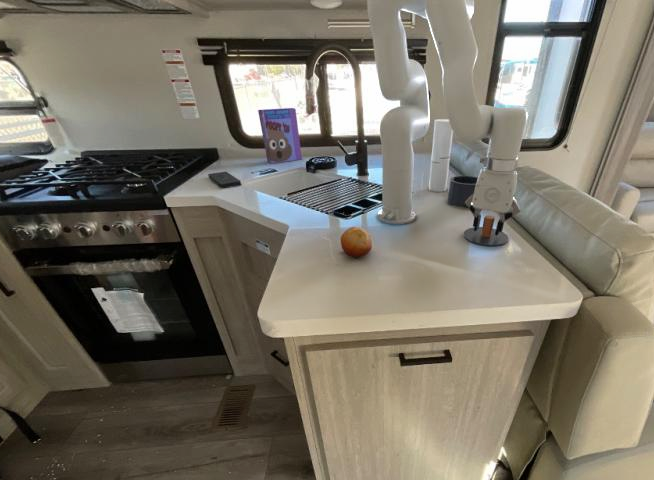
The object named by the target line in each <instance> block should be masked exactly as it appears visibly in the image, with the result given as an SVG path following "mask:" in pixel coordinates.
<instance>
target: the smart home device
mask: <svg viewBox="0 0 654 480" xmlns="http://www.w3.org/2000/svg"><path fill="white" fill-rule="evenodd" d="M207 176H208V179H209V180H211V181H212V182H213V183H215V184H216V185H217V186H218V187H219V188H221V189H225V188H226V189H227V188H231V187H232V188H233V187H239V186H241V185H242V182H241V180H240V179H239V178H237V177H235V176H234V175H232V173H229V171H219V172H212V173H208V174H207Z"/></svg>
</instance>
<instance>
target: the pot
mask: <svg viewBox="0 0 654 480" xmlns="http://www.w3.org/2000/svg"><path fill="white" fill-rule="evenodd" d="M477 179H478V176H473V175H455V176H452V177H450V179H449V185H448V186H449V188H448V196H447V204H448V205H449V206H451V207H452V206H453V207H458V208H463V209H469V207H468V206H467V205H466V204H465V201H466V200H467V199H468V198H469V197H470V196H472V195H473V194H474V191H475V187H476V183H477Z"/></svg>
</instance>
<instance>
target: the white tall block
mask: <svg viewBox="0 0 654 480" xmlns="http://www.w3.org/2000/svg"><path fill="white" fill-rule="evenodd" d="M453 135H454V132H453V130H452V128H451V125H450V122H449V119H446V118H437V119H434V125H433V136H432V148H431V158H430V160H431V161H430V169H429V179H428V181H429V182H428V190H429V191H430V192H437V193H439V192H445V191H446V190H447V184H448V176H449V168H450V160H451V153H452V152H451V150H452V144H453Z"/></svg>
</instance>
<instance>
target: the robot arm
mask: <svg viewBox="0 0 654 480" xmlns="http://www.w3.org/2000/svg"><path fill="white" fill-rule="evenodd" d="M366 8H367V17H368V22H369V28H370V32H371V33H370V34H371V38H372V45H373V54H374V62H375V68H376V77H377V83H378V88H379V92H380V95H381V96H382V97H383V98H384V99H385V100H386V101H390V102H397V101H398V104H399V106H394V107H391V108H389V109H388V110H386V111H385V112H384V113H383V115H382V116H381V118H380V120H379V137H380V143H381V155H382V158H381V159H382V161H381V162H382V165H381V169H382V175H381V177H382V179H381V181H382V185H381V187H382V190H381V191H382V193H381V194H382V196H381V197H382V199H381V205H382V206H381V210H379V211H378V212H377V215H376V219H377V220H378V221H380V222H383V223H386V224H390V225H391V224H392V225H405V224H409V223H411V222H413V221H415V220H416V216H417V215H416V213H415V211H413V210H412V207H413V189H414V173H415V171H414V170H415V154H414V153H415V152H414V147H413V142H415V141H419V140H420V139H422V138H424V137H425V135H426V134H427V133H428V131H429V128H430V123H431V121H430V119H431V115H430V113H431V112H430V102H429V89H428V87H429V86H428V80H427V74H426V72H425V70H424V68H423V66H422V64H421V63H420V62H419V61H417V60H415V59H411V58H409V53H408V45H407V35H406V29H405V27H404V23H403V21H402V18H401V11H404V12H407V13H411V14H415V15H416V16H419V17H421V18H424V19H426V20H427V22H428V25H429V29H430V32H431V36H432V39H433V41H434V45H435V48H436V51H437V54H438V59H439V62H440V67H441V70H442V77H441V80H442V99H443V104H444V109H445V113H446V115H447V118H448V119H449V122H450V125H451V128H452V130H453V135H454V136H455V137H456V139H458V141H460V142H462V143H467V144H470V143H475V142H476V141H479V140H482V139H483V140H484V139H488V138H489V140H488V147H487V151H486V152H487V153H486V156H483V157H482V156H481V157H480V160H479V164H483V167H482V168H480V171H479V174H478V176H477V177H478V179H477V183H476V187H475V191H474V194H473V195H472V196H470V197H469V198H468V199H467V200H466V201H465V204H466V205H467V206H468V207H469V208H468V209H469V211H470V212H471V214H472V216H473V218H474V219H473V222H472V228H473V227H474V231H477V230H478V228H479V227H481V226H480V225H481V219H482V213H481V212H482V210H484V211H490V212H495V213H498V214H499V219H498V220H497V224H496V228H495V229H496V232H495V235H497V236H498V234H499V232H503V230H504V225H505V222H506V221H508V220H509V219H510V218H512V217H514V216H516V215H518V214H519V213H520V212H521V207H520V205H519V203H518V201H517V200H516V198H515V195H516V190H517V189H516V188H517V183H518V171H517V170H516V167H517V163H518V159H519V155H520V151H521V146H522V142H523V137H524V133H525V130H526V129H525V128H526V126H527V122H528V121H527V120H528V111H527V110H526V109H524V108H518V107H497V106H492V105H489V104H479V102H478V98H477V94H476V91H475V90H476V89H475V85H474V69H475V68H474V67H475V64H476V61H477V58H478V55H479V49H478V45H477V42H476V38H475V37H476V36H475V34H474V30H473V26H472V23H471V20H472V17H473V14H474V11H475V0H366ZM511 209H512V210H511Z"/></svg>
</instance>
